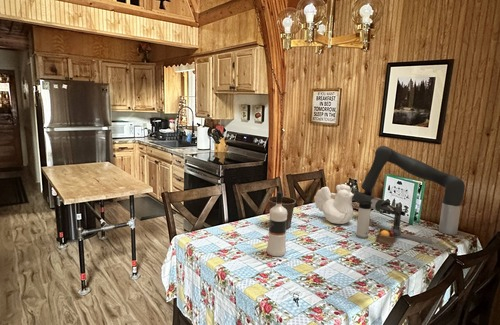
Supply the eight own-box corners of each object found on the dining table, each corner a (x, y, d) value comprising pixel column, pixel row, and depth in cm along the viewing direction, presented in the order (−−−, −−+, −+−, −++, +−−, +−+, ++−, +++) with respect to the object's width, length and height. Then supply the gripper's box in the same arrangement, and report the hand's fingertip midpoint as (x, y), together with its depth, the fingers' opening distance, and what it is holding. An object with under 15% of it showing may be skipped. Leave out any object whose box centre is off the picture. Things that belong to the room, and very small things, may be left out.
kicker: (390, 232, 183) (394, 202, 180) (400, 234, 180) (404, 203, 177) (389, 241, 170) (393, 208, 167) (399, 243, 168) (403, 210, 165)
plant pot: (298, 225, 190) (300, 199, 188) (287, 233, 177) (288, 205, 174) (274, 219, 199) (276, 194, 196) (261, 227, 185) (263, 200, 183)
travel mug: (369, 239, 173) (373, 203, 170) (356, 237, 174) (360, 202, 171) (367, 234, 179) (371, 200, 176) (355, 233, 180) (358, 199, 177)
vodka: (282, 258, 146) (286, 195, 141) (263, 254, 150) (266, 193, 145) (288, 250, 155) (291, 191, 150) (270, 247, 158) (273, 188, 153)
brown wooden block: (377, 234, 180) (378, 227, 179) (394, 237, 176) (395, 230, 176) (376, 242, 169) (376, 234, 169) (393, 245, 166) (394, 238, 165)
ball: (385, 227, 175) (392, 234, 174) (378, 232, 177) (385, 239, 176) (384, 230, 171) (391, 237, 169) (377, 235, 172) (384, 242, 171)
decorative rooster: (357, 223, 197) (360, 184, 193) (342, 229, 187) (345, 187, 183) (324, 213, 216) (327, 177, 212) (309, 217, 206) (311, 179, 202)
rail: (386, 232, 184) (386, 230, 183) (431, 240, 174) (431, 238, 174) (385, 235, 179) (385, 233, 179) (432, 244, 169) (432, 241, 169)
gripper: (370, 199, 188) (392, 208, 172) (390, 198, 192) (412, 206, 176) (369, 212, 189) (391, 221, 173) (388, 210, 193) (411, 219, 177)
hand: (401, 214), depth 175 cm, fingers closed on kicker, 3 cm apart
